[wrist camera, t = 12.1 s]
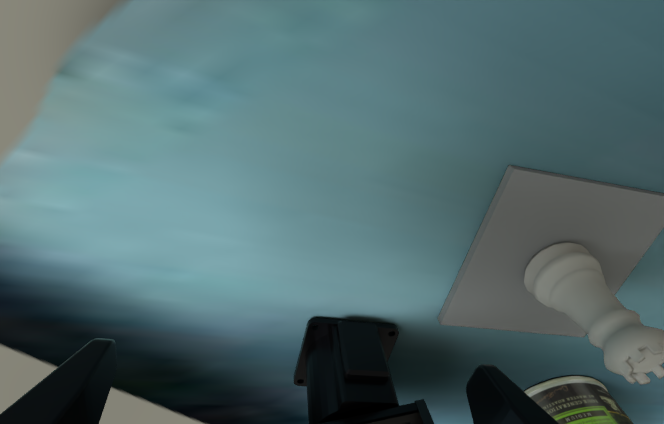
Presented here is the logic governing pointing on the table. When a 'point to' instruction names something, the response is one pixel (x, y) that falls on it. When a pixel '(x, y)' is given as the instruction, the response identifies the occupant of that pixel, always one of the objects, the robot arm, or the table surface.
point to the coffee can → (577, 401)
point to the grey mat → (540, 232)
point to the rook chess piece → (595, 310)
